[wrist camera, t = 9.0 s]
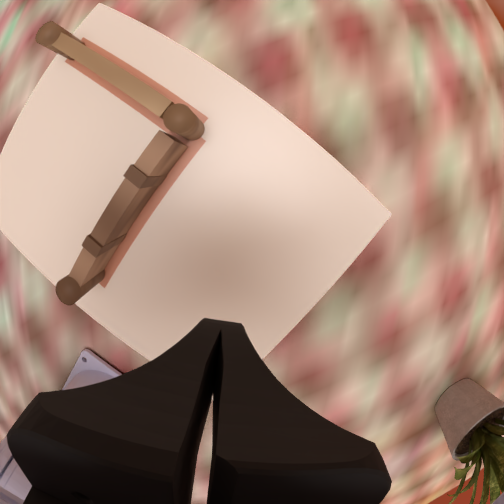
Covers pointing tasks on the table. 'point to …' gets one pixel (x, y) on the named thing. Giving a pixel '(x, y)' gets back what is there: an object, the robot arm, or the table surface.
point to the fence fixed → (122, 81)
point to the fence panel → (120, 215)
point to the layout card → (180, 196)
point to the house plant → (474, 435)
